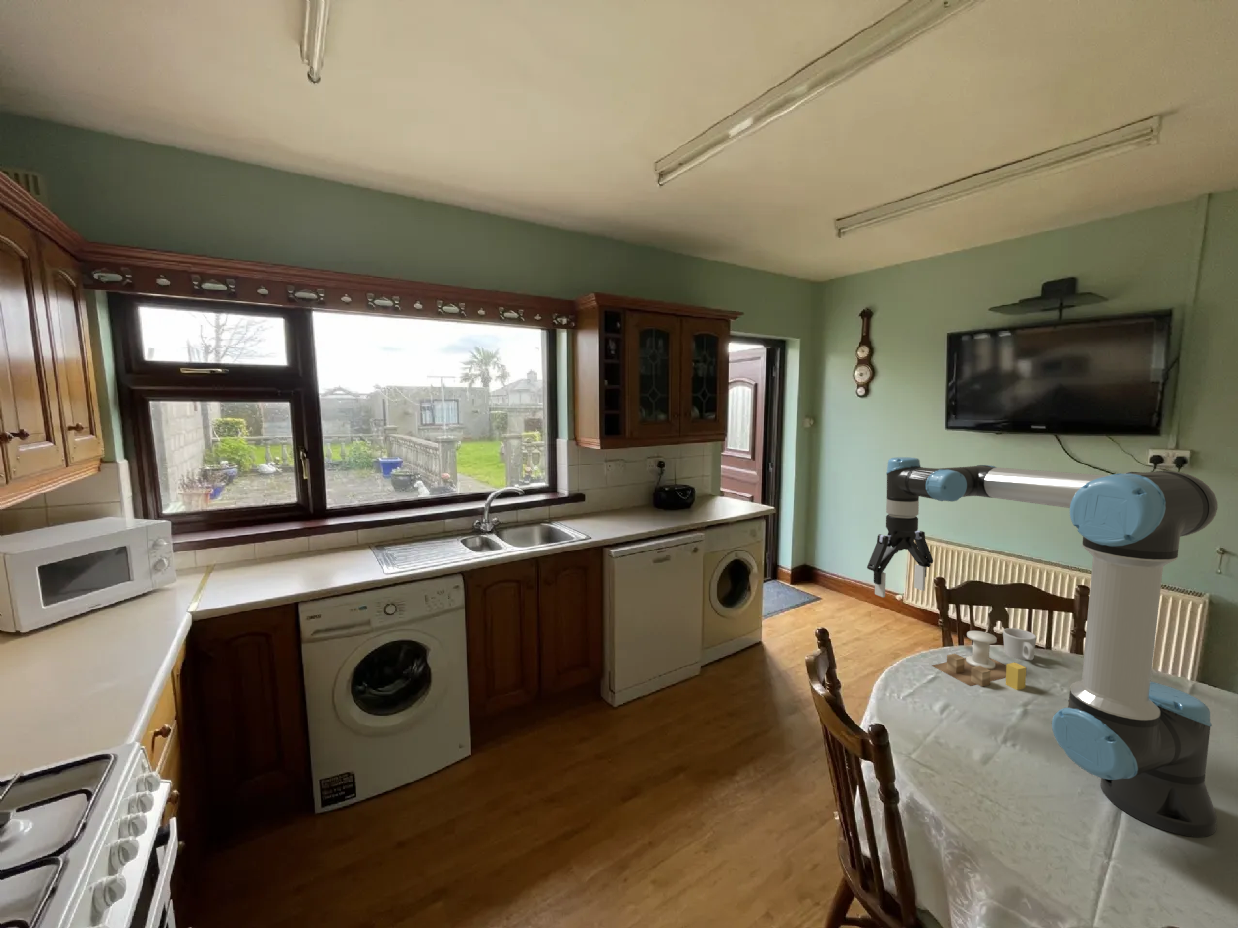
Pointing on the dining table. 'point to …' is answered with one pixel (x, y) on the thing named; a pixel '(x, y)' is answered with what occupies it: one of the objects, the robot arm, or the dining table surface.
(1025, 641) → the cup
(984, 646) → the knob
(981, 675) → the board
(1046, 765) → the dining table surface
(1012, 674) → the yellow rectangular block
